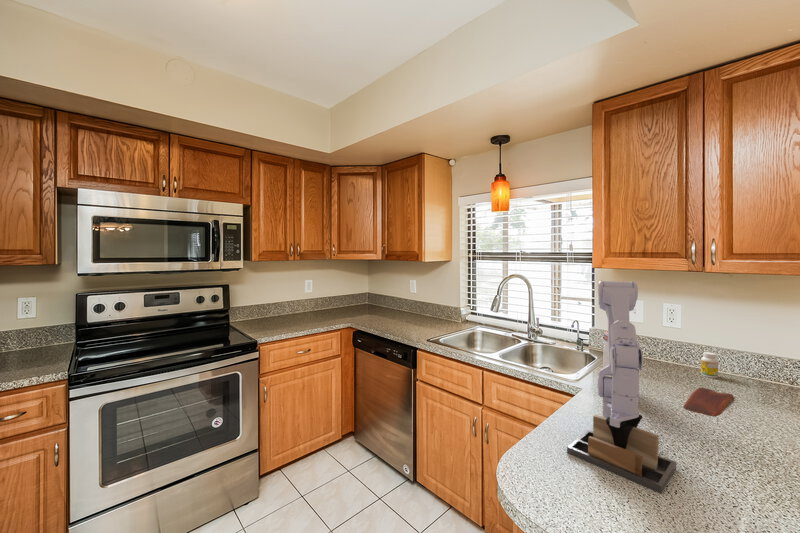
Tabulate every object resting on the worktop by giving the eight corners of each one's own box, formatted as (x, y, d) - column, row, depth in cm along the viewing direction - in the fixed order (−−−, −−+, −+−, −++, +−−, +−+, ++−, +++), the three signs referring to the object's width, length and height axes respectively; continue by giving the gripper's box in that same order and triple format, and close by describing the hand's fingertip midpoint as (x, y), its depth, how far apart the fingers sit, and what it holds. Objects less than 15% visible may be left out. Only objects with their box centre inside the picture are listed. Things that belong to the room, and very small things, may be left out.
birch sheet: (595, 443, 94) (595, 414, 94) (657, 467, 83) (658, 435, 83) (592, 445, 93) (593, 416, 93) (655, 470, 82) (656, 437, 82)
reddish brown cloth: (698, 389, 132) (698, 385, 132) (734, 398, 125) (734, 393, 124) (677, 409, 116) (678, 404, 116) (717, 420, 108) (718, 415, 108)
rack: (587, 437, 98) (587, 429, 98) (675, 471, 83) (676, 462, 83) (566, 455, 90) (567, 446, 89) (661, 496, 74) (661, 486, 74)
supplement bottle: (719, 379, 141) (720, 355, 141) (702, 376, 144) (703, 354, 143) (715, 374, 146) (716, 352, 145) (699, 372, 148) (699, 350, 148)
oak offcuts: (592, 453, 89) (593, 432, 89) (643, 474, 81) (643, 451, 80) (587, 458, 87) (587, 437, 87) (638, 480, 79) (639, 457, 78)
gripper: (617, 380, 95) (616, 429, 96) (596, 395, 86) (595, 448, 86) (647, 388, 90) (646, 439, 90) (629, 405, 80) (628, 461, 81)
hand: (623, 445), depth 88 cm, fingers open, 5 cm apart
